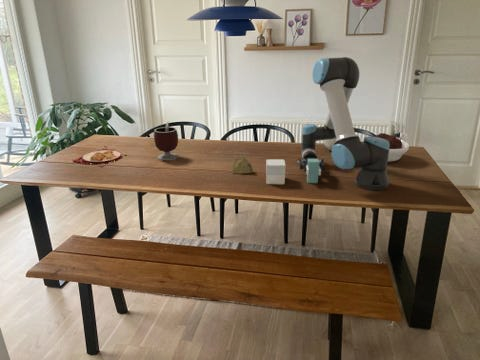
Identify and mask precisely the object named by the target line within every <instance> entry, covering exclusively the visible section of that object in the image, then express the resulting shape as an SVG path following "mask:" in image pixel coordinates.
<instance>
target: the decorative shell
mask: <svg viewBox="0 0 480 360" xmlns="http://www.w3.org/2000/svg"><path fill="white" fill-rule="evenodd" d="M335 140H336V139H329V140H323V141H324V142H323V144H324V146H325V148H326V149H327V150H329V151H331V152H332V148H333V146H334V142H335Z"/></svg>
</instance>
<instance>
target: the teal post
mask: <svg viewBox="0 0 480 360" xmlns="http://www.w3.org/2000/svg"><path fill="white" fill-rule="evenodd" d="M318 159H319V158H317V159H308V164H307V165H308V169H309V175H307V174H306V181H307V184H318V183H319V174H318V171H319V164H320V163H319V160H320V159H319V160H318Z"/></svg>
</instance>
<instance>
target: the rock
mask: <svg viewBox="0 0 480 360" xmlns="http://www.w3.org/2000/svg"><path fill="white" fill-rule="evenodd" d="M253 168H254V167H253V166H252V165H251V163H250V162H249V160H248V159H247V158H246V157H245V156H244V155H243V154H241V153H237V155H236V157H235V159H234V164H233V167H232V172H231V174H232V175H234V174H237V175H238V174H241V175H242V174H250V173H251V174H252V173H254V169H253Z"/></svg>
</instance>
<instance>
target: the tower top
mask: <svg viewBox="0 0 480 360" xmlns="http://www.w3.org/2000/svg"><path fill="white" fill-rule="evenodd" d="M265 161H266V162H265V163H266V164H265V172H266V173H267V175H285V176H286V162H285V159H265ZM266 173H265V174H266Z"/></svg>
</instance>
